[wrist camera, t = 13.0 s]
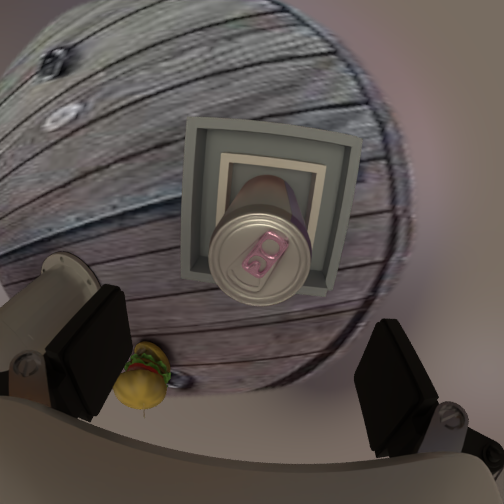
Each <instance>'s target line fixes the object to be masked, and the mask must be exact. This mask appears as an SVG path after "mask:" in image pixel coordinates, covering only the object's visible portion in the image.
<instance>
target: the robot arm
mask: <svg viewBox="0 0 504 504" xmlns="http://www.w3.org/2000/svg"><path fill="white" fill-rule="evenodd" d="M132 350H133V344H132V339H131V334H130V328H129V322H128V316H127V309H126V302H125V295H124V292H123V291H121V289H120V287H118V286H114V285H109V284H104V285H103V286H102V287H100V285H99V283H98V281H97V279H96V277H95V276H94V274H93V273H92V271H91V270H90V269H89V268H88V266H87V265H86V264H84V263H83V262H82V261H81V260H80V259H78V258H77V257H76V256H74V255H72V254H70V253H66V252H56V253H53V254H52V255H50V256H49V257H48V258H47V259H46V260H45V261H44V263H43V265H42V269H41V275H40V276H39V277H38V278H36V279H35V280H34V281H32V282H31V283H30V284H29V285H27V286H26V287H25V288H24V289H22V290H21V291H20V292H19V293H17V294H16V295H15V296H14V297H12V298H11V299H10V300H9V301H8V302H7V303H5V304H4V305H3V306H2V307H1V308H0V504H504V450H503V448H502V446H501V445H500V444H499V443H497V442H496V441H494V440H492V439H490V438H488V437H486V436H484V435H482V434H480V433H479V432H477V431H475V430H473V429H471V428H469V427H468V423H469V419H468V415H467V413H466V412H465V410H464V409H463V408H462V407H461V406H460V405H458V404H457V403H454V402H450V401H445V402H442V403H440V404H439V403H438V401H437V399H438V398H439V396H438V394H437V392H436V390H435V388H434V386H433V384H432V382H431V380H430V378H429V376H428V374H427V372H426V370H425V368H424V366H423V365H422V363H421V361H420V359H419V357H418V355H417V354H416V351H415V350H414V348H413V346H412V344H411V342H410V341H409V339H408V337H407V335H406V334H405V332H404V330H403V329H402V327H401V325H400V323H399V322H398V321H397V319H382V320H381V321H380V322H377V323H376V325H375V327H374V330H373V332H372V335H371V337H370V340H369V342H368V344H367V347H366V349H365V351H364V354H363V356H362V358H361V361H360V363H359V365H358V367H357V369H356V371H355V374H354V383H355V387H356V390H357V394H358V398H359V402H360V405H361V410H362V414H363V418H364V422H365V426H366V430H367V435H368V439H369V444H370V448H371V450H372V451H375V455H376V458H380V457H386V456H389V457H390V458H385V459H377V460H368V461H357V462H346V463H330V464H278V463H261V462H249V461H239V460H231V459H223V458H216V457H209V456H204V455H198V454H193V453H188V452H183V451H178V450H173V449H169V448H165V447H161V446H157V445H153V444H149V443H146V442H142V441H139V440H136V439H132V438H129V437H126V436H123V435H120V434H116V433H114V432H111V431H108V430H105V429H103V428H100V427H97V426H94V425H92V424H89V423H86V422H84V421H81V420H79V419H78V417H79V418H81V419H83V420H86V421H88V422H91V420H92V418H93V416H97V415H98V414H99V412H100V410H101V408H102V407H103V405H104V403H105V401H106V399H107V397H108V395H109V393H110V392H111V390H112V388H113V386H114V384H115V382H116V381H117V379H118V377H119V375H120V373H121V372H122V370H123V368H124V366H125V364H126V363H127V361H128V359H129V357H130V356H131V354H132Z"/></svg>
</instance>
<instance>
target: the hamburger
mask: <svg viewBox="0 0 504 504" xmlns="http://www.w3.org/2000/svg"><path fill="white" fill-rule="evenodd" d="M134 352H135V354H134V355H132V356H131V361H129V362H127V363H126V365H125V367H124V369H125V370H126V371H125V372H123V373H121V374H120V375H119V377H118V379H117V381H116V382H115V384H114V386H113V390H114V393H115V395H116V397H117V398H118V400H119V401H120V402H121V403H123V404H124V405H126V406H128V407H131V408H134V409H140V410H141V409H148V408H152V407H154V406H157V405H158V404H160V403H161V402H162V401H163V399H164V398H165V395H166V391H167V387H168V385H166V384H167V383H168V381H169V380H170V378H171V377H170V375H171V373H170V363H169V361H168V358H167V357H166V355H165V353H164V352H163V351H162V350H161V349H160V348H159V347H158V346H156V345H155V344H153V343H151V342H146V341H145V342H140V343H138V344H137V345H136V347H135V349H134ZM144 418H145V414H144Z"/></svg>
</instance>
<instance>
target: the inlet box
mask: <svg viewBox="0 0 504 504" xmlns="http://www.w3.org/2000/svg"><path fill="white" fill-rule="evenodd" d="M362 140H363V139H361V138H357V137H356V136H352V135H347V134H342V133H337V132H332V131H326V130H321V129H315V128H309V127H302V126H296V125H289V124H281V123H273V122H264V121H254V120H243V119H229V118H211V117H187V123H186V135H185V148H184V163H183V181H182V205H181V279H187V280H194V281H201V282H208V283H215V284H216V282H215V281H214V279H213V277H212V275H211V272H210V268H209V262H208V254H209V244H210V239H211V236H212V233H213V231H214V229H215V227H216V226H217V224H218V223H219V221H220V220H221V218H222V217H223V215H224V214H225V212H226V211H227V209H228V208H229V206H230V205H231V203H232V202H233V200H234V199H235V197H236V196H237V194H238V193H239V191H240V190H241V188H242V187H243V186H244V184H245V183H246V182H248V181H249V180H250V179H252V178H254V177H256V176H260V175H273V176H277V177H279V178H281V179H283V180H284V181H286V182H287V183H288V184H289V185H290V187H291V188H292V190H293V191H294V194H295V196H296V199H297V202H298V205H299V208H300V211H301V214H302V217H303V220H304V223H305V226H306V229H307V232H308V235H309V238H310V241H311V246H312V260H311V264H310V270H309V274H308V276H307V279H306V281H305V282H304V284H303V286H302V287H301V288H300V289H299V290H298V291H297V292H296V293H295V294H303V295H312V296H321V297H326V293H327V290H333V286H334V282H335V278H336V274H337V270H338V266H339V262H340V258H341V254H342V249H343V245H344V241H345V236H346V231H347V227H348V222H349V217H350V212H351V207H352V202H353V196H354V191H355V185H356V180H357V174H358V167H359V161H360V154H361V148H362Z"/></svg>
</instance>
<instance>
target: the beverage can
mask: <svg viewBox="0 0 504 504" xmlns="http://www.w3.org/2000/svg"><path fill="white" fill-rule="evenodd" d="M311 260H312V246H311V241H310V238H309V235H308V232H307V229H306V226H305V223H304V220H303V217H302V214H301V211H300V208H299V205H298V202H297V199H296V196H295V194H294V191H293V190H292V188H291V187H290V185H289V184H288V183H287V182H286V181H284V180H283V179H281V178H279V177H277V176H273V175H260V176H256V177H254V178H252V179H250V180H249V181H248V182H246V183H245V184H244V186H243V187H242V188H241V190H240V191H239V193H238V194H237V196H236V197H235V199H234V200H233V202H232V203H231V205H230V206H229V208H228V209H227V211H226V212H225V214H224V215H223V217H222V218H221V220H220V221H219V223H218V224H217V226H216V227H215V229H214V231H213V233H212V236H211V239H210V244H209V254H208V262H209V268H210V272H211V275H212V277H213V279H214V281H215V282H216V284H217V285H218V286H219V288H220V289H221V290H222V291H223V292H224V293H225V294H227V295H228V296H229V297H231V298H232V299H234V300H236V301H238V302H241V303H243V304H247V305H252V306H270V305H274V304H278V303H280V302H283V301H285V300H287V299H289V298H290V297H292V296H293V295H294V294H295V293H296V292H297V291H298V290H299V289H300V288H301V287H302V286H303V284H304V282H305V281H306V279H307V276H308V274H309V270H310V264H311Z"/></svg>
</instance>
